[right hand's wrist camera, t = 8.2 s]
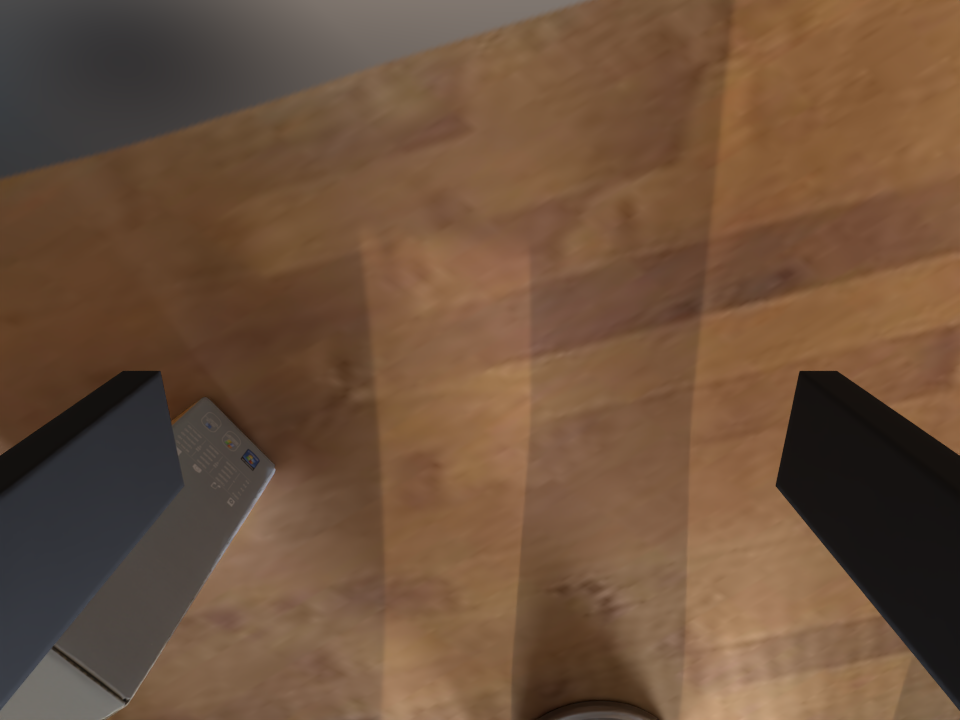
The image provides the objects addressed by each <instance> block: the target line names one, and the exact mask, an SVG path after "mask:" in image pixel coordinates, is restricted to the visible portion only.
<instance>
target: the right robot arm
mask: <svg viewBox="0 0 960 720" xmlns="http://www.w3.org/2000/svg"><path fill="white" fill-rule="evenodd" d="M183 487H184V482H183V477H182V472H181V467H180V462H179V458H178V453H177V448H176V443H175V439H174V434H173V429H172V424H171V419H170V415H169V410H168V405H167V400H166V396H165V391H164V386H163V381H162V376H161V372H160V371H122V372H121V373H120V374H118V375H117V376H115V377H114V378H112V379H111V380H109V381H108V382H106V383H105V384H104V385H102V386H101V387H99V388H98V389H96V390H95V391H93V392H92V393H91V394H89V395H88V396H86V397H85V398H83V399H82V400H80V401H79V402H77V403H76V404H75V405H73V406H72V407H70V408H69V409H67V410H66V411H64V412H63V413H62V414H60V415H59V416H57V417H56V418H54V419H53V420H51V421H50V422H48V423H47V424H46V425H44V426H43V427H41V428H40V429H38V430H37V431H35V432H34V433H33V434H31V435H30V436H28V437H27V438H25V439H24V440H22V441H21V442H19V443H18V444H17V445H15V446H14V447H12V448H11V449H9V450H8V451H6V452H5V453H4V454H2V455H1V456H0V710H1V709H2V708H3V707H4V706H5V704H6V703H7V702H8V701H9V699H10V698H11V697H12V696H13V695H14V693H15V692H16V691H17V690H18V688H19V687H20V686H21V685H22V684H23V682H24V681H25V680H26V679H27V677H28V676H29V675H30V674H31V673H32V671H33V670H34V669H35V668H36V666H37V665H38V664H39V663H40V662H41V660H42V659H43V658H44V657H45V655H46V654H47V653H48V652H49V651H50V649H51V648H52V647H53V646H54V645H55V643H56V642H57V641H58V640H59V638H60V637H61V636H62V635H63V634H64V632H65V631H66V630H67V629H68V627H69V626H70V625H71V624H72V623H73V621H74V620H75V619H76V618H77V616H78V615H79V614H80V613H81V612H82V610H83V609H84V608H85V607H86V605H87V604H88V603H89V602H90V601H91V599H92V598H93V597H94V596H95V594H96V593H97V592H98V591H99V590H100V588H101V587H102V586H103V585H104V583H105V582H106V581H107V580H108V579H109V577H110V576H111V575H112V574H113V572H114V571H115V570H116V569H117V568H118V566H119V565H120V564H121V563H122V561H123V560H124V559H125V558H126V557H127V555H128V554H129V553H130V552H131V550H132V549H133V548H134V547H135V546H136V544H137V543H138V542H139V541H140V539H141V538H142V537H143V536H144V535H145V533H146V532H147V531H148V530H149V528H150V527H151V526H152V525H153V524H154V522H155V521H156V520H157V519H158V517H159V516H160V515H161V514H162V513H163V511H164V510H165V509H166V508H167V507H168V505H169V504H170V503H171V502H172V500H173V499H174V498H175V497H176V496H177V494H178V493H179V492H180V491H181V489H182V488H183ZM776 487H777V488H778V489H779V491H780V492H781V493H782V494H783V496H784V497H785V498H786V499H787V500H788V502H789V503H790V504H791V505H792V507H793V508H794V509H795V510H796V511H797V513H798V514H799V515H800V516H801V518H802V519H803V520H804V521H805V522H806V524H807V525H808V526H809V527H810V528H811V530H812V531H813V532H814V533H815V535H816V536H817V537H818V538H819V539H820V541H821V542H822V543H823V544H824V546H825V547H826V548H827V549H828V550H829V552H830V553H831V554H832V555H833V557H834V558H835V559H836V560H837V561H838V563H839V564H840V565H841V566H842V568H843V569H844V570H845V571H846V572H847V574H848V575H849V576H850V577H851V579H852V580H853V581H854V582H855V583H856V585H857V586H858V587H859V588H860V590H861V591H862V592H863V593H864V594H865V596H866V597H867V598H868V599H869V601H870V602H871V603H872V604H873V605H874V607H875V608H876V609H877V610H878V612H879V613H880V614H881V615H882V616H883V618H884V619H885V620H886V621H887V623H888V624H889V625H890V626H891V627H892V629H893V630H894V631H895V632H896V634H897V635H898V636H899V637H900V638H901V640H902V641H903V642H904V643H905V645H906V646H907V647H908V648H909V649H910V651H911V652H912V653H913V654H914V655H915V657H916V658H917V659H918V660H919V662H920V663H921V664H922V665H923V666H924V668H925V669H926V670H927V671H928V673H929V674H930V675H931V676H932V677H933V679H934V680H935V681H936V682H937V684H938V685H939V686H940V687H941V688H942V690H943V691H944V692H945V693H946V695H947V696H948V697H949V698H950V699H951V701H952V702H953V703H954V704H955V706H956V707H957V708H958V709H959V710H960V456H959V455H958V454H956V453H955V452H954V451H952V450H951V449H949V448H948V447H946V446H945V445H943V444H942V443H941V442H939V441H938V440H936V439H935V438H933V437H932V436H930V435H929V434H927V433H926V432H925V431H923V430H922V429H920V428H919V427H917V426H916V425H914V424H913V423H912V422H910V421H909V420H907V419H906V418H904V417H903V416H901V415H900V414H898V413H897V412H896V411H894V410H893V409H891V408H890V407H888V406H887V405H885V404H884V403H883V402H881V401H880V400H878V399H877V398H875V397H874V396H872V395H871V394H869V393H868V392H867V391H865V390H864V389H862V388H861V387H859V386H858V385H856V384H855V383H854V382H852V381H851V380H849V379H848V378H846V377H845V376H843V375H842V374H840V373H839V372H838V371H800V372H799V376H798V381H797V386H796V391H795V395H794V400H793V405H792V410H791V415H790V419H789V424H788V429H787V434H786V439H785V443H784V448H783V453H782V458H781V462H780V467H779V472H778V477H777V482H776ZM538 720H659V719H657V718H656V717H655V716H653V715H652V714H650V713H648V712H646V711H644V710H642V709H640V708H637V707H635V706H631V705H628V704H624V703H619V702H612V701H589V702H581V703H575V704H571V705H567V706H564V707H561V708H558V709H556V710H553V711H551V712H549V713H547V714H545V715H544V716H542V717H540V718H539V719H538Z"/></svg>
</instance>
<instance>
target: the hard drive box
mask: <svg viewBox="0 0 960 720" xmlns="http://www.w3.org/2000/svg"><path fill="white" fill-rule="evenodd" d="M171 424H172V429H173V434H174V439H175V443H176V448H177V453H178V458H179V462H180V467H181V472H182V477H183V482H184V487H183V488H182V489H181V491H180V492H179V493H178V494H177V496H176V497H175V498H174V499H173V500H172V502H171V503H170V504H169V505H168V507H167V508H166V509H165V510H164V511H163V513H162V514H161V515H160V516H159V517H158V519H157V520H156V521H155V522H154V524H153V525H152V526H151V527H150V528H149V530H148V531H147V532H146V533H145V535H144V536H143V537H142V538H141V539H140V541H139V542H138V543H137V544H136V546H135V547H134V548H133V549H132V550H131V552H130V553H129V554H128V555H127V557H126V558H125V559H124V560H123V561H122V563H121V564H120V565H119V566H118V568H117V569H116V570H115V571H114V572H113V574H112V575H111V576H110V577H109V579H108V580H107V581H106V582H105V583H104V585H103V586H102V587H101V588H100V590H99V591H98V592H97V593H96V594H95V596H94V597H93V598H92V599H91V601H90V602H89V603H88V604H87V605H86V607H85V608H84V609H83V610H82V612H81V613H80V614H79V615H78V616H77V618H76V619H75V620H74V621H73V623H72V624H71V625H70V626H69V627H68V629H67V630H66V631H65V632H64V634H63V635H62V636H61V637H60V638H59V640H58V641H57V642H56V643H55V645H54V646H53V647H52V648H51V649H50V651H49V652H48V653H47V654H46V655H45V657H44V658H43V659H42V660H41V662H40V663H39V664H38V665H37V666H36V668H35V669H34V670H33V671H32V673H31V674H30V675H29V676H28V677H27V679H26V680H25V681H24V682H23V684H22V685H21V686H20V687H19V688H18V690H17V691H16V692H15V693H14V695H13V696H12V697H11V698H10V699H9V701H8V702H7V703H6V704H5V706H4V707H3V708H2V709H1V710H0V720H106V719H107V718H109V717H110V716H112V715H114V714H115V713H117V712H118V711H119V710H121V709H122V708H124V707H126V706H127V705H128V703H129V702H130V700H131V699H132V697H133V696H134V695H135V693H136V692H137V690H138V688H139V686H140V685H141V683H142V682H143V680H144V679H145V677H146V676H147V674H148V673H149V671H150V669H151V668H152V666H153V665H154V663H155V662H156V660H157V658H158V657H159V655H160V654H161V652H162V650H163V649H164V647H165V646H166V644H167V642H168V641H169V639H170V638H171V636H172V634H173V633H174V631H175V630H176V628H177V626H178V625H179V623H180V622H181V620H182V618H183V617H184V615H185V614H186V612H187V611H188V609H189V607H190V606H191V604H192V603H193V601H194V599H195V598H196V596H197V595H198V593H199V591H200V590H201V588H202V587H203V585H204V584H205V582H206V580H207V579H208V577H209V576H210V574H211V573H212V571H213V569H214V568H215V566H216V565H217V563H218V562H219V560H220V558H221V557H222V555H223V554H224V552H225V550H226V549H227V547H228V546H229V544H230V543H231V541H232V539H233V538H234V536H235V535H236V533H237V532H238V530H239V528H240V527H241V525H242V524H243V522H244V521H245V519H246V517H247V516H248V514H249V513H250V511H251V509H252V508H253V506H254V505H255V503H256V502H257V500H258V499H259V497H260V495H261V494H262V492H263V491H264V489H265V487H266V486H267V484H268V483H269V481H270V479H271V478H272V476H273V474H274V473H275V470H276V469H275V468H274V467H275V465H274V464H273V463H272V462H271V461H270V460H269V459H268V458H267V457H266V456H265V455H264V454H263V453H262V452H261V451H260V450H259V449H258V448H257V447H256V446H255V445H254V444H253V443H252V442H251V441H250V440H249V439H248V438H247V437H246V436H245V435H244V434H243V433H242V432H241V431H240V430H239V429H238V428H237V427H236V426H235V425H234V424H233V423H232V422H231V421H230V420H229V419H228V418H227V417H226V416H225V414H224V413H223V412H222V411H221V410H220V409H219V408H218V407H217V406H216V405H215V404H214V403H213V402H212V401H210V400H209V399H208V398H207V397H203V398H201V399H200V400H199V401H197V402H196V403H194V404H193V405H192V406H190V407H189V408H188V409H186V410H185V411H184V412H182V413H181V414H180V415H179V416H177V417H176V418H175V419H173V420H172V421H171Z"/></svg>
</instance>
